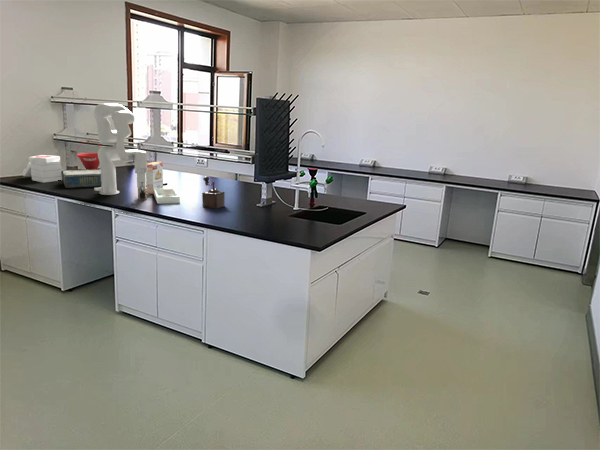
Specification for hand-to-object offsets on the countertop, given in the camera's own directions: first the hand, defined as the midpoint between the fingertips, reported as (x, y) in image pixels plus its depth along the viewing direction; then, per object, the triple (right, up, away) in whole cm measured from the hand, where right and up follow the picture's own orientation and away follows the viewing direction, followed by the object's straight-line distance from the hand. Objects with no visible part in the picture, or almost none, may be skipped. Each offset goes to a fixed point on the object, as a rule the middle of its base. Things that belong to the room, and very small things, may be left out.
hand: (142, 197), depth 299 cm
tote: (+14, -2, +5) cm, 15 cm away
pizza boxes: (-96, +17, +56) cm, 112 cm away
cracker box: (0, +5, +28) cm, 28 cm away
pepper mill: (+46, -6, -6) cm, 47 cm away
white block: (+17, -3, -3) cm, 18 cm away
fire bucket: (-64, +19, +69) cm, 96 cm away
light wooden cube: (0, -2, +1) cm, 2 cm away
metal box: (-55, +11, +44) cm, 72 cm away
